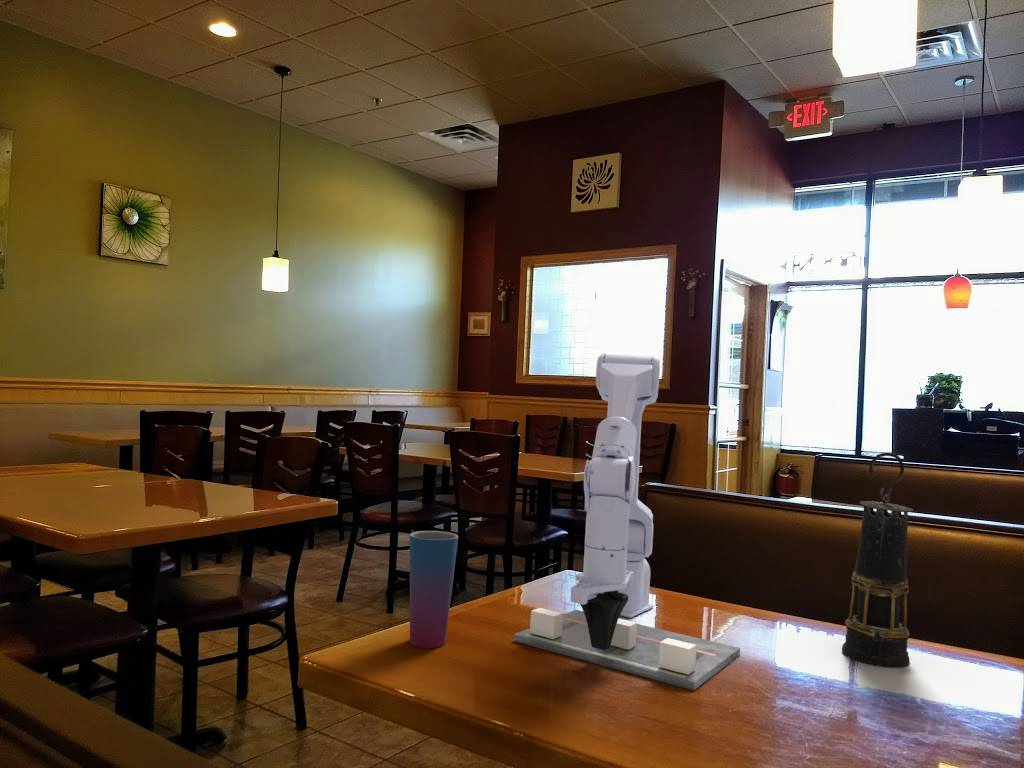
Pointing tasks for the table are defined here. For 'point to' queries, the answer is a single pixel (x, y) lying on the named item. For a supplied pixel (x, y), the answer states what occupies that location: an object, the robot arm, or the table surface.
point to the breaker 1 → (546, 623)
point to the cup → (431, 586)
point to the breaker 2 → (677, 656)
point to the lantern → (880, 583)
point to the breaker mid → (624, 634)
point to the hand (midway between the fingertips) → (600, 647)
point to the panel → (635, 651)
